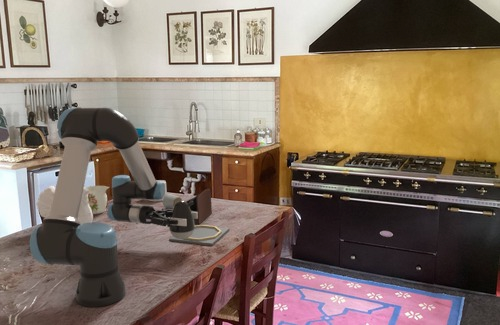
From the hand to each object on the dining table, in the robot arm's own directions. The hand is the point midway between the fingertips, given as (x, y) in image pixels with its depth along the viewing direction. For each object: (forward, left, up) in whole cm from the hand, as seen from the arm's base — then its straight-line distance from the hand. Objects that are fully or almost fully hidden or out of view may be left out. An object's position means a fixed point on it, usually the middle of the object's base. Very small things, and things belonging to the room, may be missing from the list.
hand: (191, 218), depth 180 cm
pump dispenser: (0, +4, -8) cm, 9 cm away
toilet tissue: (+66, +54, -13) cm, 86 cm away
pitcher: (+34, +72, -13) cm, 81 cm away
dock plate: (+17, +4, -13) cm, 22 cm away
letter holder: (+39, +17, -14) cm, 45 cm away
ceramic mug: (+53, +36, -14) cm, 65 cm away
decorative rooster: (+6, +66, -13) cm, 68 cm away
